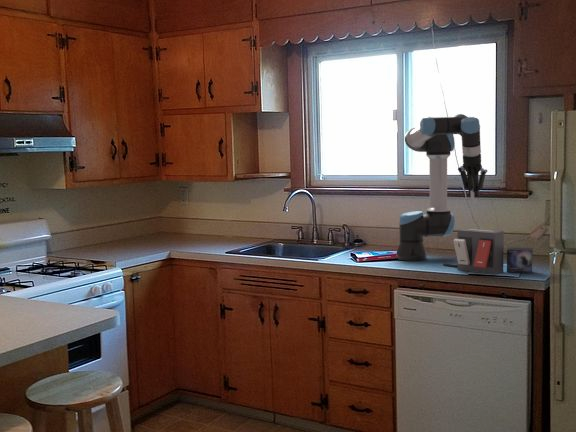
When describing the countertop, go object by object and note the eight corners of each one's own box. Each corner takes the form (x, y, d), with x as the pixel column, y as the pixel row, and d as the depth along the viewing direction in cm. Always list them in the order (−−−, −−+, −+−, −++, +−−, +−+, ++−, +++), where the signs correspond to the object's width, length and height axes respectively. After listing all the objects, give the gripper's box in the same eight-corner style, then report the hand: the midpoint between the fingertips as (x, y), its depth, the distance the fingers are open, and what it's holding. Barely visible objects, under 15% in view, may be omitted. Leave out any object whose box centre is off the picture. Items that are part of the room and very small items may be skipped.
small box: (506, 272, 284) (506, 249, 283) (506, 270, 290) (507, 247, 289) (532, 274, 281) (532, 250, 279) (532, 271, 287) (532, 247, 286)
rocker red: (473, 266, 281) (479, 239, 284) (475, 267, 282) (480, 240, 285) (484, 267, 278) (489, 240, 280) (485, 268, 279) (491, 241, 281)
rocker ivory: (458, 263, 291) (453, 240, 287) (460, 262, 293) (454, 238, 288) (468, 265, 288) (463, 241, 284) (470, 263, 289) (465, 239, 285)
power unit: (436, 267, 300) (436, 228, 298) (447, 264, 307) (446, 226, 305) (493, 274, 281) (493, 233, 279) (503, 271, 287) (503, 230, 286)
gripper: (453, 155, 279) (456, 204, 289) (481, 158, 270) (483, 209, 280) (462, 148, 283) (464, 197, 294) (490, 152, 275) (491, 202, 285)
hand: (474, 203), depth 287 cm, fingers closed
